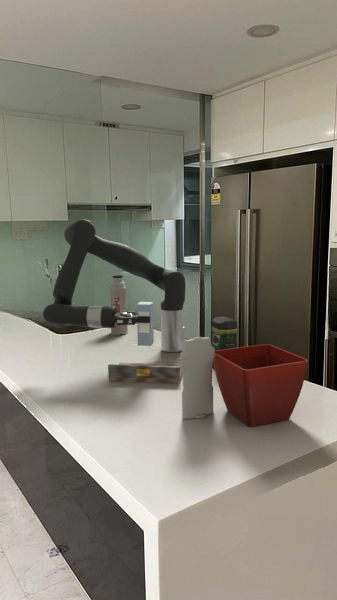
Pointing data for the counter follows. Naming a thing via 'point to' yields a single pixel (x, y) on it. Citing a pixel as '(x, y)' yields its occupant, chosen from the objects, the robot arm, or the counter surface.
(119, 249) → the robot arm
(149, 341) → the carton
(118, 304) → the thermos bottle
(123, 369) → the shelf
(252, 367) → the plant pot
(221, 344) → the coffee jar
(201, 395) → the tall pale column
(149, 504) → the counter surface
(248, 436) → the counter surface
